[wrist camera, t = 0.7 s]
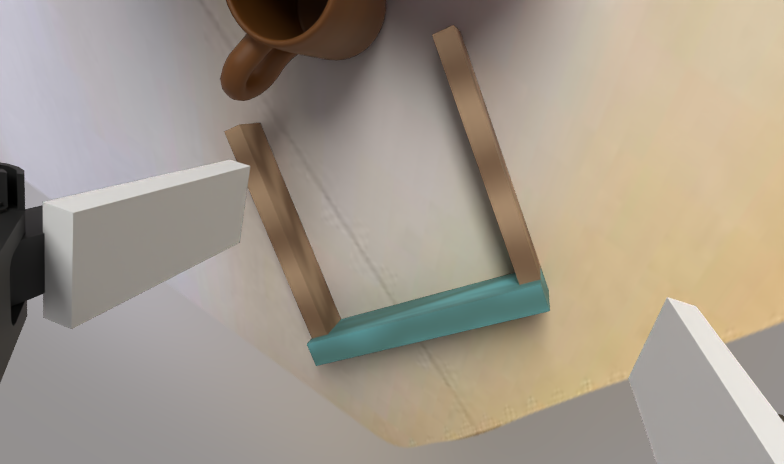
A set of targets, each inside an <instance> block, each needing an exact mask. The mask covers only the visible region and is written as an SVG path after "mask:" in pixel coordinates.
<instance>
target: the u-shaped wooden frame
mask: <svg viewBox="0 0 784 464" xmlns="http://www.w3.org/2000/svg"><path fill="white" fill-rule="evenodd" d="M432 36H433V39H434V42H435V45H436V48H437V51H438V54H439V56H440V59H441V62H442V65H443V68H444V71H445V74H446V76H447V79H448V82H449V85H450V88H451V91H452V94H453V96H454V99H455V102H456V105H457V108H458V111H459V114H460V116H461V119H462V122H463V125H464V128H465V131H466V133H467V136H468V139H469V142H470V145H471V148H472V151H473V153H474V156H475V159H476V162H477V165H478V168H479V171H480V173H481V176H482V179H483V182H484V185H485V188H486V191H487V193H488V196H489V199H490V202H491V205H492V208H493V211H494V213H495V216H496V219H497V222H498V225H499V228H500V231H501V233H502V236H503V239H504V242H505V245H506V248H507V251H508V253H509V256H510V259H511V262H512V265H513V268H514V271H515V273H512V274H508V275H505V276H501V277H497V278H493V279H490V280H486V281H482V282H478V283H475V284H471V285H467V286H464V287H460V288H456V289H452V290H449V291H445V292H441V293H437V294H434V295H430V296H426V297H423V298H419V299H415V300H411V301H408V302H404V303H400V304H396V305H393V306H389V307H385V308H382V309H378V310H374V311H370V312H367V313H363V314H359V315H355V316H352V317H348V318H344V319H341V318H340V316H339V313H338V311H337V308H336V306H335V304H334V301H333V299H332V296H331V294H330V291H329V289H328V287H327V284H326V282H325V279H324V277H323V274H322V272H321V270H320V267H319V265H318V262H317V260H316V258H315V255H314V253H313V250H312V248H311V245H310V243H309V241H308V238H307V236H306V233H305V231H304V228H303V226H302V224H301V221H300V219H299V216H298V214H297V211H296V209H295V207H294V204H293V202H292V199H291V197H290V194H289V192H288V190H287V187H286V185H285V182H284V180H283V177H282V175H281V173H280V170H279V168H278V165H277V163H276V160H275V158H274V156H273V153H272V151H271V148H270V146H269V143H268V141H267V139H266V136H265V134H264V131H263V129H262V127H261V124H260V123H253V124H240V125H237V126H235V127H233V128H231V129H229V130H227V131H225V135H226V137H227V139H228V142H229V144H230V146H231V149H232V151H233V153H234V156H235V158H236V160H237V162H239V163H242V164H246V165H249V166H250V172H249V180H248V189H249V191H250V193H251V196H252V198H253V201H254V203H255V205H256V208H257V210H258V212H259V215H260V217H261V219H262V222H263V224H264V226H265V229H266V231H267V234H268V236H269V238H270V241H271V243H272V245H273V248H274V250H275V252H276V255H277V257H278V259H279V262H280V264H281V267H282V269H283V271H284V274H285V276H286V278H287V281H288V283H289V285H290V288H291V290H292V292H293V295H294V297H295V300H296V302H297V304H298V307H299V309H300V311H301V314H302V316H303V318H304V321H305V323H306V325H307V328H308V330H309V333H310V335H311V337H312V339H311V340H310V341H309V342H308V343H307V346H308V348H309V350H310V353H311V355H312V357H313V360H314V362H315V365H316V366H318V365H322V364H327V363H331V362H335V361H339V360H344V359H348V358H352V357H356V356H361V355H365V354H369V353H373V352H378V351H382V350H386V349H390V348H395V347H399V346H403V345H407V344H412V343H416V342H420V341H424V340H429V339H433V338H437V337H442V336H446V335H450V334H454V333H459V332H463V331H467V330H471V329H476V328H480V327H484V326H488V325H493V324H497V323H501V322H505V321H510V320H514V319H518V318H522V317H527V316H531V315H535V314H539V313H544V312H548V311H550V304H549V290H548V287H547V284H546V281H545V278H544V275H543V272H542V269H541V266H540V264H539V261H538V258H537V255H536V252H535V249H534V246H533V243H532V240H531V237H530V234H529V231H528V228H527V225H526V223H525V220H524V217H523V214H522V211H521V208H520V205H519V202H518V199H517V196H516V193H515V190H514V187H513V184H512V182H511V179H510V176H509V173H508V170H507V167H506V164H505V161H504V158H503V155H502V152H501V149H500V146H499V143H498V141H497V138H496V135H495V132H494V129H493V126H492V123H491V120H490V117H489V114H488V111H487V108H486V105H485V102H484V100H483V97H482V94H481V91H480V88H479V85H478V82H477V79H476V76H475V73H474V70H473V67H472V64H471V61H470V59H469V56H468V53H467V50H466V47H465V44H464V41H463V38H462V35H461V32H460V31H459V30H458V29H457V28H456V27H455V26H454V25H452V26H450V27H448V28H446V29H444V30H441V31H439V32H437V33H435V34H433V35H432Z"/></svg>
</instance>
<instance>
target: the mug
mask: <svg viewBox="0 0 784 464" xmlns="http://www.w3.org/2000/svg"><path fill="white" fill-rule="evenodd" d="M226 2H227V5H228V7H229V9H230V11H231V13H232V15H233V17H234V18H235V20H236V22H237V23H238V24H239V26H240V27H241V28H242V29H243V30H244V31H245V32H246V33H247V34H246V36H245V37H244V38H243V39H242V40H241V41H240V43H239V44H238V45H237V46H236V47H235V48H234V50H233V51H232V52H231V53H230V54H229V56H228V58H227V59H226V61H225V64H224V66H223V69H222V73H221V77H220V80H221V85H222V89H223V90H224V92H225V93H226V94H227V95H228V96H229V97H230V98H232V99H234V100H239V101H245V100H250V99H252V98H254V97H256V96H258V95H260V94H261V93H263V92H264V91H265V90H267V89H268V88H269V87H270V86H271V85H272V84H273V83H274V81H275V80H276V79H277V77H278V76H279V75H280V73H281V72H282V70H283V69H284V67H285V66H286V65H287V64H288V63H289V61H290V60H291V59H292V58H294V57H295V56H296V55H298V54H300V55H306V56H310V57H317V58H322V59H327V60H344V59H348V58H351V57H353V56H356V55H358V54H359V53H361V52H363V51H364V50H365V49H366V48H368V47H369V46H370V45H371V44H372V42H373V41H374V40H375V38H376V37H377V35H378V33H379V32H380V29H381V27H382V24H383V21H384V17H385V11H386V0H226Z"/></svg>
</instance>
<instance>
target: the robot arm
mask: <svg viewBox="0 0 784 464" xmlns="http://www.w3.org/2000/svg"><path fill="white" fill-rule="evenodd" d="M249 172H250V166H249V165H246V164H242V163H239V162H236V161H233V160H226V161H221V162H217V163H213V164H208V165H204V166H199V167H195V168H190V169H186V170H182V171H177V172H173V173H168V174H164V175H159V176H155V177H150V178H146V179H142V180H137V181H133V182H128V183H124V184H119V185H115V186H111V187H106V188H102V189H97V190H93V191H88V192H84V193H80V194H75V195H71V196H66V197H62V198H57V199H53V200H49V201H44V202H43V205H42V206H38V207H34V208H29V209H25V188H24V170H22V169H21V168H19V167H17V166H14V165H10V164H6V163H0V382H1V379H2V377H3V374H4V372H5V369H6V367H7V365H8V362H9V360H10V357H11V355H12V352H13V350H14V347H15V345H16V342H17V340H18V337H19V335H20V332H21V330H22V327H23V325H24V322H25V320H26V317H27V300H29V299H31V298H34V297H36V296H39V295H41V294H43V316H44V318H46V319H48V320H51V321H53V322H55V323H58V324H61V325H63V326H65V327H68V328H70V329H73V328H75V327H76V326H78V325H80V324H82V323H84V322H86V321H88V320H90V319H92V318H94V317H96V316H98V315H100V314H102V313H104V312H106V311H107V310H110V309H111V308H113V307H115V306H117V305H119V304H121V303H123V302H125V301H127V300H129V299H131V298H133V297H135V296H137V295H139V294H141V293H143V292H145V291H146V290H148V289H150V288H152V287H154V286H156V285H158V284H160V283H162V282H164V281H166V280H168V279H170V278H172V277H174V276H176V275H178V274H179V273H181V272H183V271H185V270H187V269H189V268H191V267H193V266H195V265H197V264H199V263H201V262H203V261H205V260H207V259H209V258H211V257H213V256H214V255H216V254H218V253H220V252H222V251H224V250H226V249H228V248H230V247H232V246H234V245H236V244H238V243H240V237H241V230H242V222H243V215H244V208H245V201H246V194H247V187H248V180H249ZM628 379H629V382H630V385H631V388H632V391H633V394H634V397H635V400H636V403H637V406H638V409H639V412H640V415H641V418H642V421H643V424H644V427H645V430H646V433H647V436H648V439H649V442H650V445H651V448H652V451H653V455H654V458H655V461H656V464H784V416H783V415H780V414H777V413H776V411H775V410H774V409H773V407H772V406H771V405H770V403H769V402H768V401H767V400H766V398H765V397H764V396H763V394H762V393H761V392H760V390H759V389H758V388H757V386H756V385H755V384H754V382H753V381H752V380H751V378H750V377H749V376H748V374H747V373H746V372H745V370H744V369H743V368H742V367H741V365H740V364H739V363H738V361H737V360H736V358H735V357H734V356H733V354H732V353H731V352H730V351H729V349H728V348H727V347H726V345H725V344H724V343H723V341H722V340H721V339H720V337H719V336H718V335H717V333H716V332H715V331H714V329H713V328H712V327H711V325H710V324H709V323H708V321H707V320H706V319H705V317H704V316H703V315H702V313H701V312H700V311H699V309H698V308H697V307H696V306H694V305H690V304H687V303H684V302H681V301H678V300H675V299H671V298H668V297H667V299H666V301H665V303H664V305H663V307H662V309H661V311H660V313H659V315H658V317H657V319H656V322H655V324H654V326H653V328H652V330H651V332H650V334H649V336H648V338H647V340H646V342H645V344H644V347H643V349H642V351H641V353H640V355H639V357H638V359H637V361H636V363H635V365H634V367H633V370H632V372H631V374H630V376H629V378H628Z"/></svg>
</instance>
